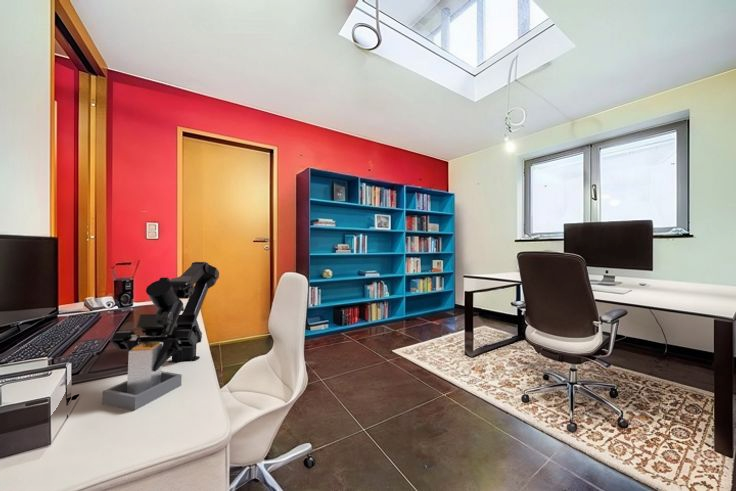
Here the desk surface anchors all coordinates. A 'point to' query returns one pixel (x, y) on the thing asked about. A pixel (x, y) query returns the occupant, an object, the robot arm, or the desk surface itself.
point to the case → (133, 402)
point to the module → (143, 367)
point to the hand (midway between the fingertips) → (142, 371)
